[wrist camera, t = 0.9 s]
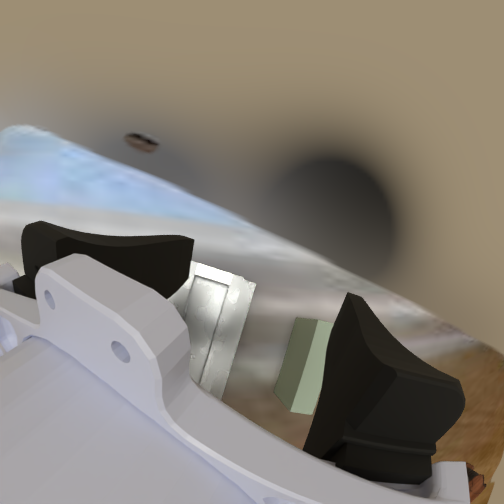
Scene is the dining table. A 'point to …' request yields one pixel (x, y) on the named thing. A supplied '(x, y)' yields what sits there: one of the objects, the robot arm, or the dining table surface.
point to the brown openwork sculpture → (474, 482)
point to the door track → (213, 322)
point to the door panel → (303, 365)
